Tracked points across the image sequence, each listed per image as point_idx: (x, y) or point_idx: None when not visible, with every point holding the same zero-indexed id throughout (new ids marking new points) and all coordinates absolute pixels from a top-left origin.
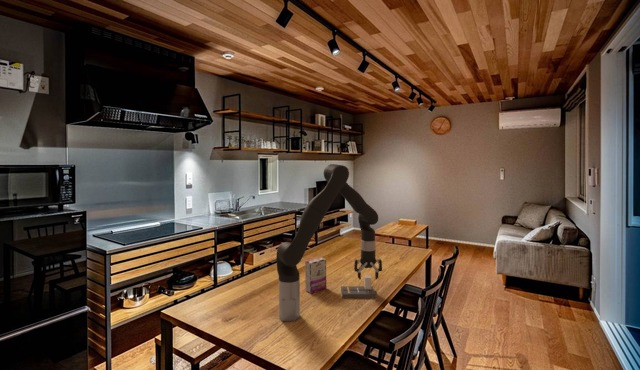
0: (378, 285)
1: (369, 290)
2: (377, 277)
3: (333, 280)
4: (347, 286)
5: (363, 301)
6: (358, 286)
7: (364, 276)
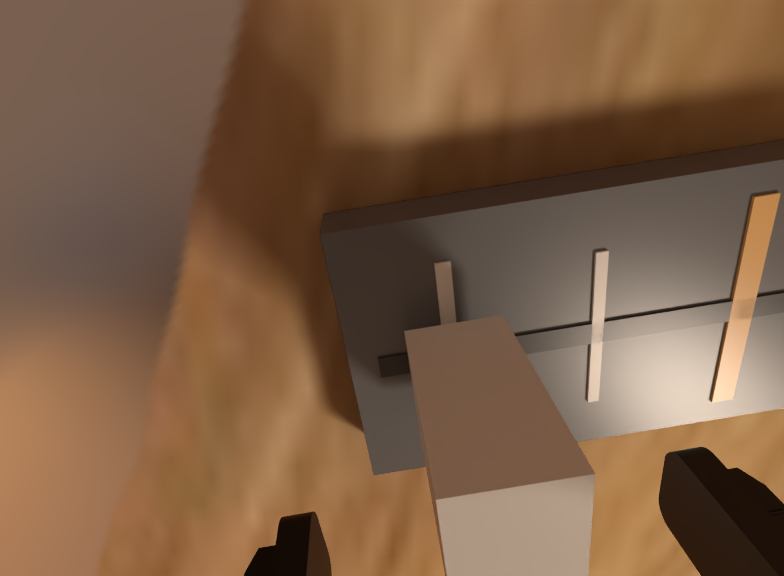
0: None
1: None
2: (269, 562)
3: None
4: (716, 417)
5: (528, 39)
6: None
7: (581, 560)
